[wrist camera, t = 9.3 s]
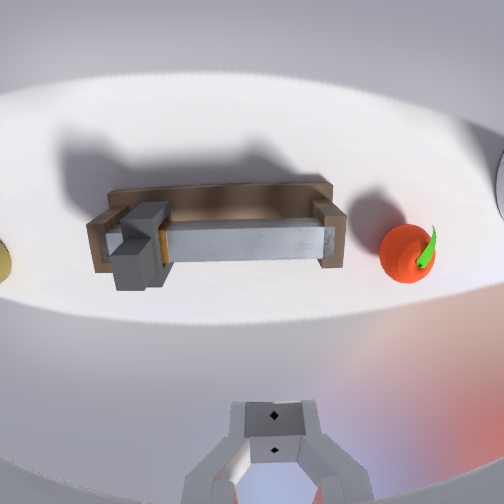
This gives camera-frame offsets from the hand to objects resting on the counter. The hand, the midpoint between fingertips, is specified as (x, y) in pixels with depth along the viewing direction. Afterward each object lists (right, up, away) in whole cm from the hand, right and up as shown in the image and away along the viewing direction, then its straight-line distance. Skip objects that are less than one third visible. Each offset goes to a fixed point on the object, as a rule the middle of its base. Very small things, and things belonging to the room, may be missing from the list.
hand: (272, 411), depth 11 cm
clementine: (+18, +7, +27) cm, 33 cm away
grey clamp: (-10, +8, +22) cm, 26 cm away
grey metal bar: (-4, +7, +21) cm, 23 cm away
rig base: (-5, +9, +26) cm, 28 cm away
